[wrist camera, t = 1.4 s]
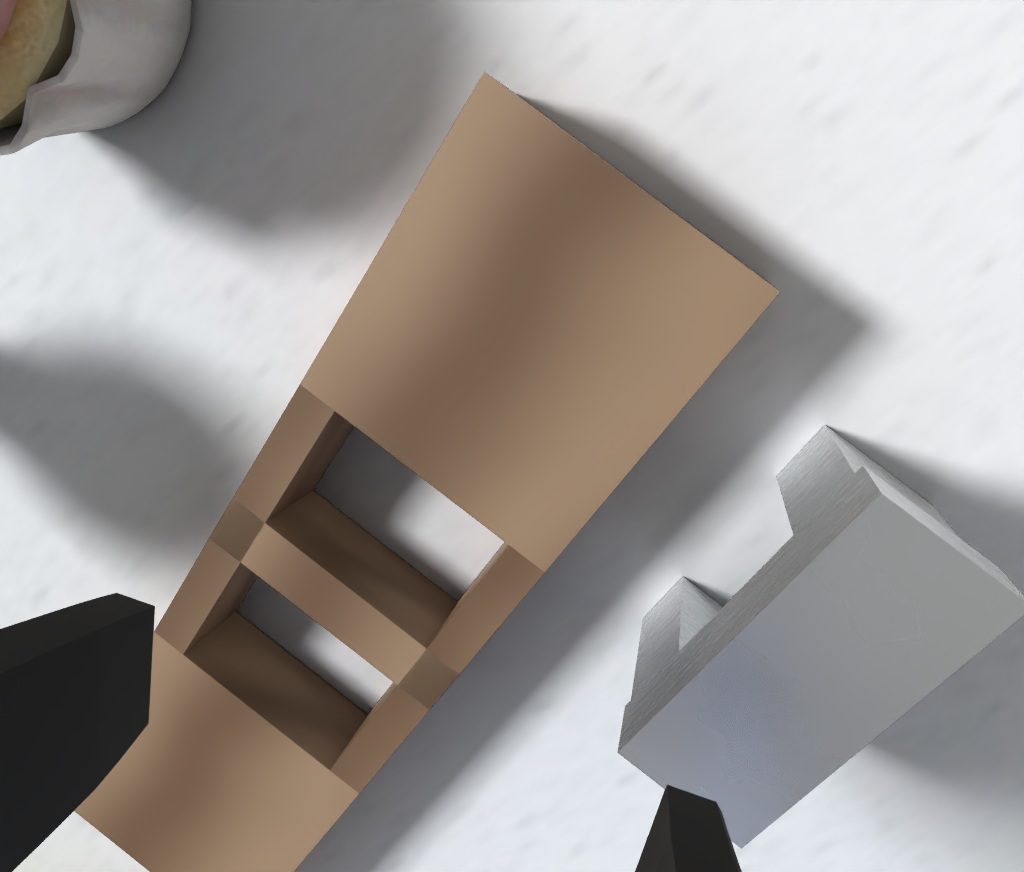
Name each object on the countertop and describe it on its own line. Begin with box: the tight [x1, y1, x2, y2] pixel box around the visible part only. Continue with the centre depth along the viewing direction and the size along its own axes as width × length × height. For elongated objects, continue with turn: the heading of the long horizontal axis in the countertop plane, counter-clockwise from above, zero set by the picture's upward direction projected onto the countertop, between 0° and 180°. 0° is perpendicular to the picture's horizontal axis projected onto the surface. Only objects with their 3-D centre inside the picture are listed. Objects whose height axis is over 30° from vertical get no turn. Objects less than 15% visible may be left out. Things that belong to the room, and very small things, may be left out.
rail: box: [74, 72, 780, 872], centre depth 19 cm, size 7×24×2 cm, turn 145°
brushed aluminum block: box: [618, 425, 1024, 848], centre depth 16 cm, size 3×7×5 cm, turn 145°
